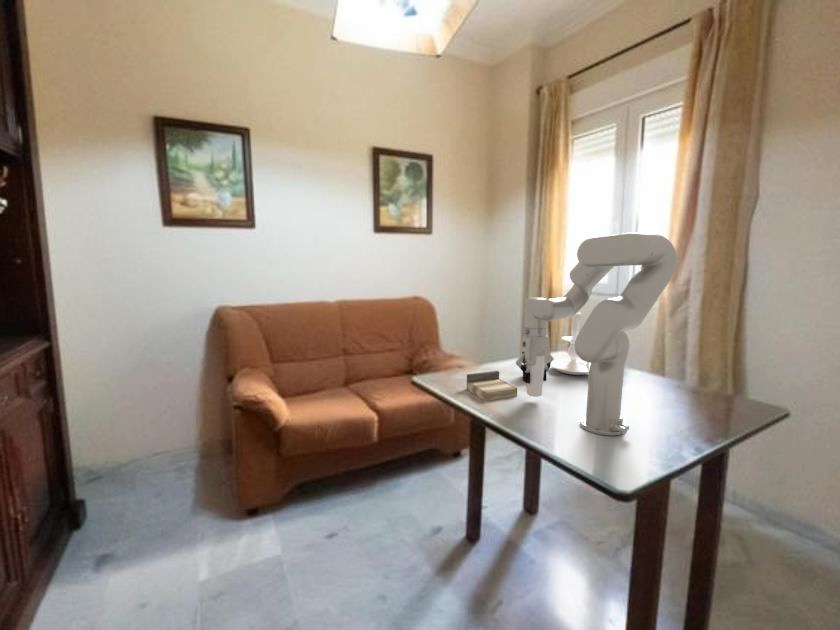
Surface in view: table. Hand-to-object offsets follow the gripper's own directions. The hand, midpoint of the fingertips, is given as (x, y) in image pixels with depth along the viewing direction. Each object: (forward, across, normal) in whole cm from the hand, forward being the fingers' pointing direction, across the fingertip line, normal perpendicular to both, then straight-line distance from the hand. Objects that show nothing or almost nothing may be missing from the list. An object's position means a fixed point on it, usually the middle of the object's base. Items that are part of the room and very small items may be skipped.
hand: (534, 380), depth 146 cm
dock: (+7, -9, +14) cm, 18 cm away
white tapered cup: (+5, 0, 0) cm, 5 cm away
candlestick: (+8, +40, +22) cm, 46 cm away
